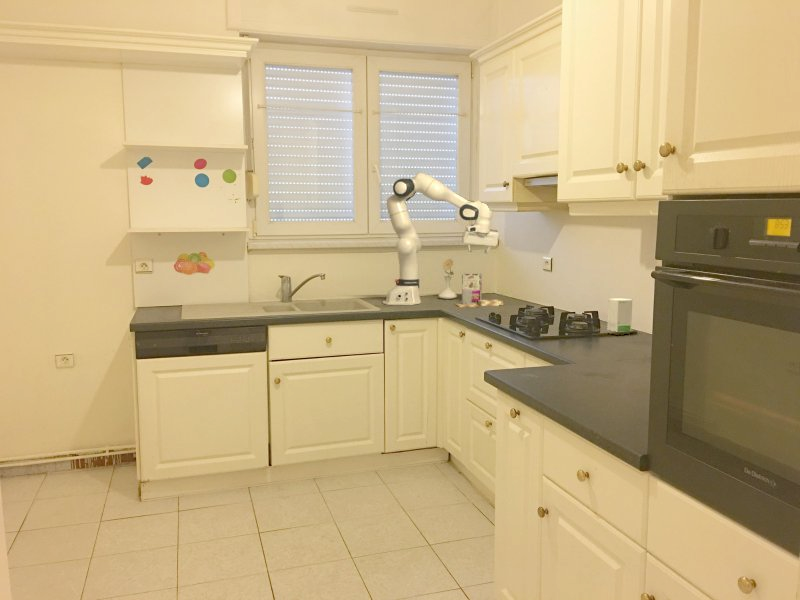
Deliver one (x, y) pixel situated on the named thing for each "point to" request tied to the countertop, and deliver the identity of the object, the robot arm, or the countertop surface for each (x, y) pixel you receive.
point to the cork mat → (467, 305)
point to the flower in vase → (448, 281)
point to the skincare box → (619, 314)
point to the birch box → (490, 302)
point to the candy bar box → (472, 285)
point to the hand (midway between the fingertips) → (478, 252)
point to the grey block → (466, 297)
